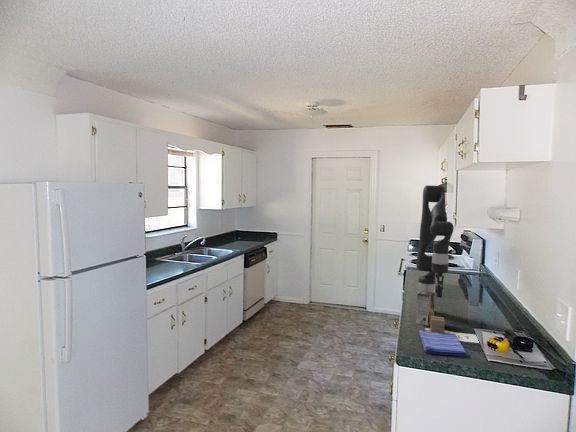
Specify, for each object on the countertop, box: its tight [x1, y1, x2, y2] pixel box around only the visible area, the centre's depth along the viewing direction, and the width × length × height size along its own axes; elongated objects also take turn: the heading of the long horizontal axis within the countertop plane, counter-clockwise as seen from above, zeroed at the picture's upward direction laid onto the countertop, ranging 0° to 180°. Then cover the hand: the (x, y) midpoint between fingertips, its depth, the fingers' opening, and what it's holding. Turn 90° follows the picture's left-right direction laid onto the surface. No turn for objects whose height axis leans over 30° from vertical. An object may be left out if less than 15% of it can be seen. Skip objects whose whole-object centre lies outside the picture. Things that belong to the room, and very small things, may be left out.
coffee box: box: [416, 291, 436, 327], centre depth 207 cm, size 9×6×16 cm
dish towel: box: [418, 329, 468, 357], centre depth 175 cm, size 17×24×3 cm
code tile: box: [449, 331, 480, 344], centre depth 186 cm, size 12×12×1 cm
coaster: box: [424, 327, 450, 334], centre depth 191 cm, size 10×11×1 cm
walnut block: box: [429, 315, 446, 333], centre depth 190 cm, size 6×6×7 cm
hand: (438, 295), depth 190 cm, fingers open, 8 cm apart
